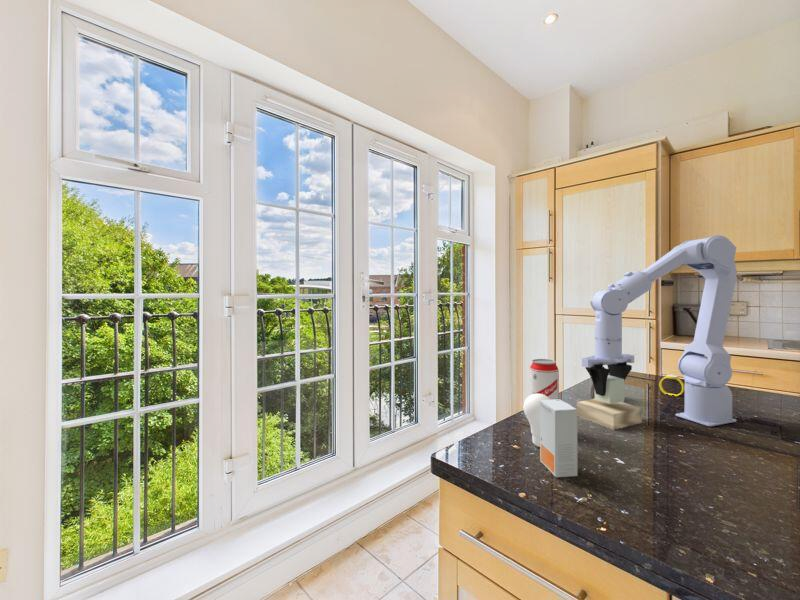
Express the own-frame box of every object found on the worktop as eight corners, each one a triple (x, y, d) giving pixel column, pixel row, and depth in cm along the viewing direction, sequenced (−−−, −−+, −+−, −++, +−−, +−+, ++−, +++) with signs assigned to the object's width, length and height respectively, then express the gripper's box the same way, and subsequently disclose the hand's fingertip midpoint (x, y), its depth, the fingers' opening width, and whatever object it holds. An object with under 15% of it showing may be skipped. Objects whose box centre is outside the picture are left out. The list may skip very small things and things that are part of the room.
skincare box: (539, 461, 70) (538, 399, 69) (560, 460, 70) (560, 398, 70) (555, 478, 64) (555, 410, 63) (578, 477, 64) (578, 409, 64)
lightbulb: (553, 442, 78) (553, 391, 78) (556, 454, 73) (555, 399, 72) (523, 438, 80) (523, 389, 80) (523, 450, 75) (523, 397, 74)
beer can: (561, 436, 81) (561, 364, 81) (532, 434, 83) (531, 363, 82) (555, 425, 88) (555, 358, 87) (528, 423, 89) (527, 358, 88)
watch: (684, 397, 109) (686, 377, 108) (682, 399, 107) (684, 379, 106) (660, 391, 113) (662, 372, 113) (657, 393, 111) (659, 374, 111)
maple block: (603, 411, 98) (603, 396, 97) (641, 424, 88) (641, 407, 88) (576, 417, 94) (576, 402, 93) (613, 431, 84) (613, 414, 84)
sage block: (608, 396, 93) (608, 375, 93) (624, 401, 89) (624, 379, 89) (594, 398, 92) (594, 376, 92) (609, 403, 88) (609, 380, 88)
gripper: (598, 343, 84) (598, 401, 85) (645, 339, 89) (645, 395, 89) (575, 339, 91) (575, 393, 91) (620, 335, 95) (620, 387, 96)
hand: (608, 393), depth 91 cm, fingers closed on sage block, 4 cm apart
